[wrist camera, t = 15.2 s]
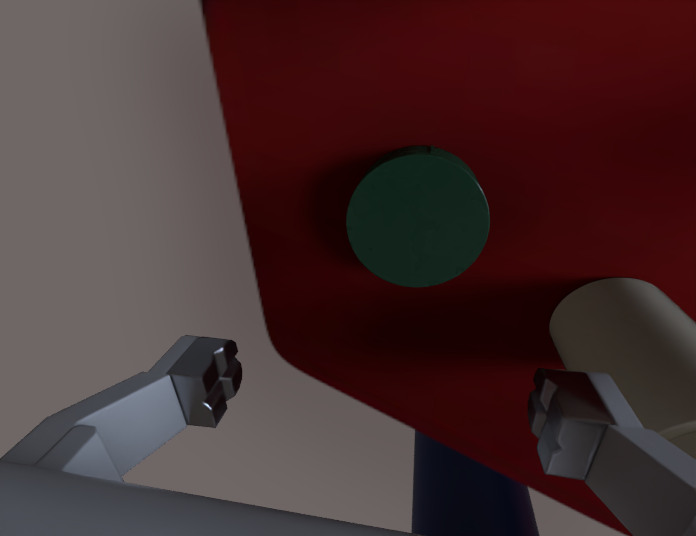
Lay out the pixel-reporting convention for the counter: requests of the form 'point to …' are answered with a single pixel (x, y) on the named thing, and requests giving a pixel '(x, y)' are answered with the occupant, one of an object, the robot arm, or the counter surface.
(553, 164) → the counter surface
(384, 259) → the lid
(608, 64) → the counter surface
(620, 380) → the white jar
